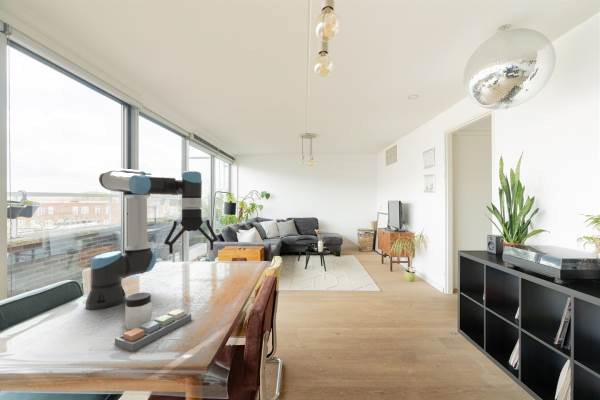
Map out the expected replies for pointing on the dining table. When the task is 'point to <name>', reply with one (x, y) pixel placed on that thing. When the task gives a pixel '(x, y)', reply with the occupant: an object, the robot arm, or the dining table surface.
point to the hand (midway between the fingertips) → (191, 259)
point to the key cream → (177, 314)
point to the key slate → (150, 327)
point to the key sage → (164, 320)
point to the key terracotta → (133, 334)
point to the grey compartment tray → (153, 334)
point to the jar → (138, 310)
